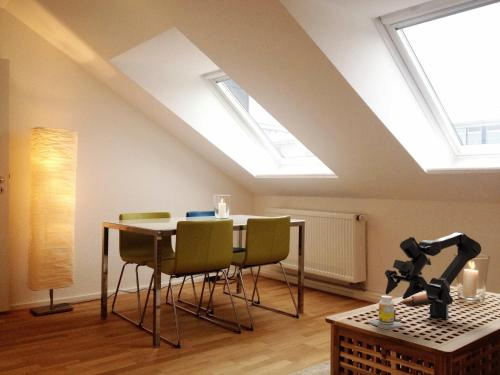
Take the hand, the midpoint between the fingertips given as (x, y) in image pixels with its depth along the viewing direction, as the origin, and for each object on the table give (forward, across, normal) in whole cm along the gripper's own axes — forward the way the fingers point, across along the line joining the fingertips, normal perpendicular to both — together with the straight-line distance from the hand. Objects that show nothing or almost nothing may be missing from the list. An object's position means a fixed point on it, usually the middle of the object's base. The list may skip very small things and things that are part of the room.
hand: (394, 296), depth 191 cm
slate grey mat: (+10, 0, +4) cm, 11 cm away
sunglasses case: (-18, -23, +35) cm, 46 cm away
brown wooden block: (+4, -8, +12) cm, 14 cm away
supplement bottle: (+10, 0, +4) cm, 11 cm away
